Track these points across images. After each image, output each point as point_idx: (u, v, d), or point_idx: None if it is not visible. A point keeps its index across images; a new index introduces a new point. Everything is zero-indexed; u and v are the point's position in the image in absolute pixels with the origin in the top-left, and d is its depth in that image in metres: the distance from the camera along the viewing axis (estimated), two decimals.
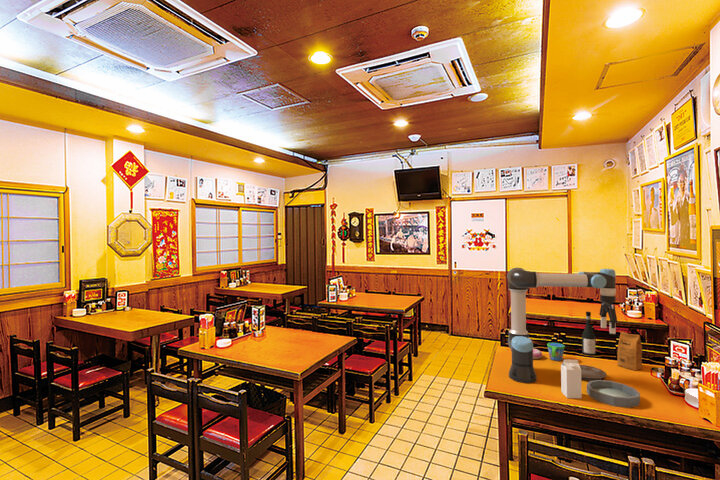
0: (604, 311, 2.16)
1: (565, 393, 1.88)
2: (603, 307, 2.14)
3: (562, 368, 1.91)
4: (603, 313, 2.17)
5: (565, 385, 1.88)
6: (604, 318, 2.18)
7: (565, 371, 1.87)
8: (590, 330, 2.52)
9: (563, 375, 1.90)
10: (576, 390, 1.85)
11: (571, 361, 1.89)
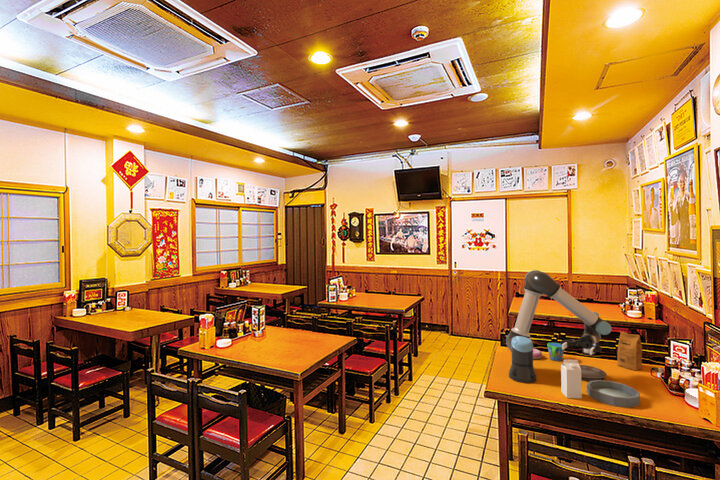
0: (573, 343, 2.06)
1: (565, 393, 1.88)
2: (579, 340, 2.06)
3: (562, 368, 1.91)
4: (570, 343, 2.06)
5: (565, 385, 1.88)
6: (566, 345, 2.05)
7: (565, 371, 1.87)
8: None
9: (563, 375, 1.90)
10: (576, 390, 1.85)
11: (571, 361, 1.89)
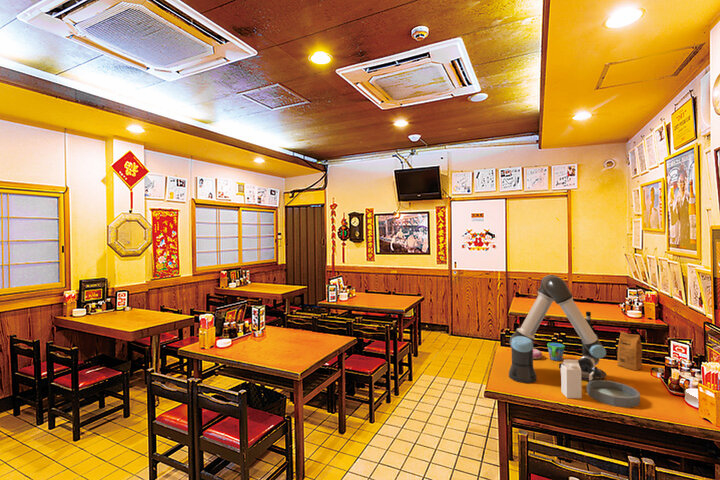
0: None
1: (565, 393, 1.88)
2: None
3: (562, 368, 1.91)
4: None
5: (565, 385, 1.88)
6: None
7: (565, 371, 1.87)
8: None
9: (563, 375, 1.90)
10: (576, 390, 1.85)
11: (571, 361, 1.89)
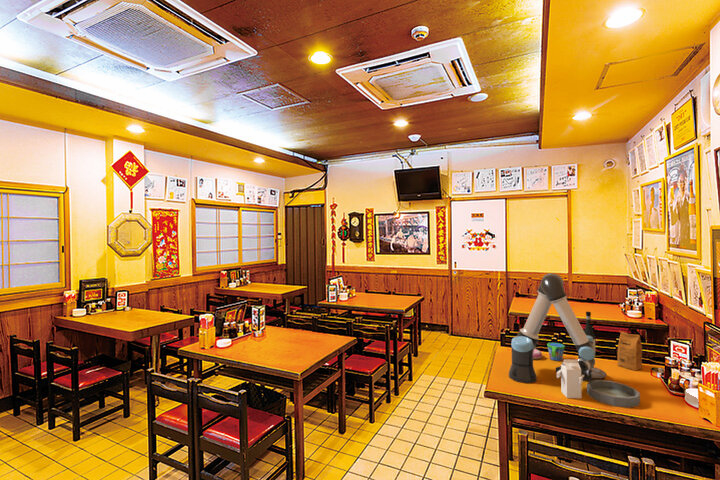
0: None
1: (565, 393, 1.88)
2: None
3: (562, 368, 1.91)
4: None
5: (565, 385, 1.88)
6: None
7: (565, 371, 1.88)
8: (590, 330, 2.52)
9: (563, 375, 1.90)
10: (576, 390, 1.86)
11: (571, 361, 1.89)
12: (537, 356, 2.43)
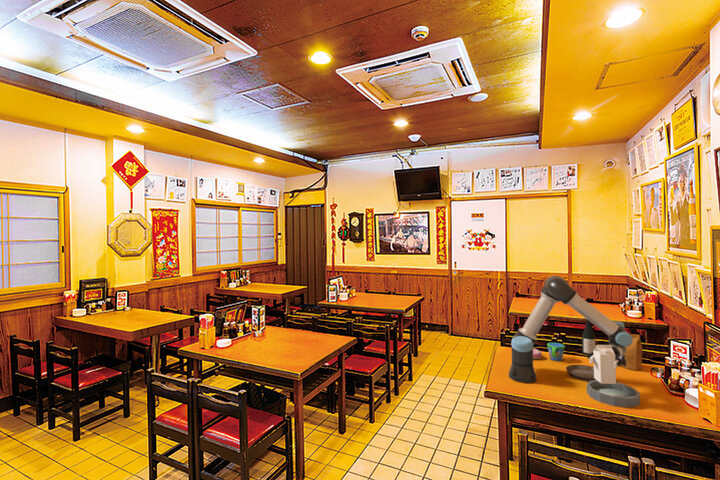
0: None
1: (599, 379, 1.85)
2: None
3: (595, 354, 1.88)
4: None
5: (598, 371, 1.85)
6: None
7: (598, 356, 1.85)
8: (590, 330, 2.52)
9: (596, 360, 1.87)
10: (610, 375, 1.83)
11: (604, 346, 1.86)
12: (537, 356, 2.43)
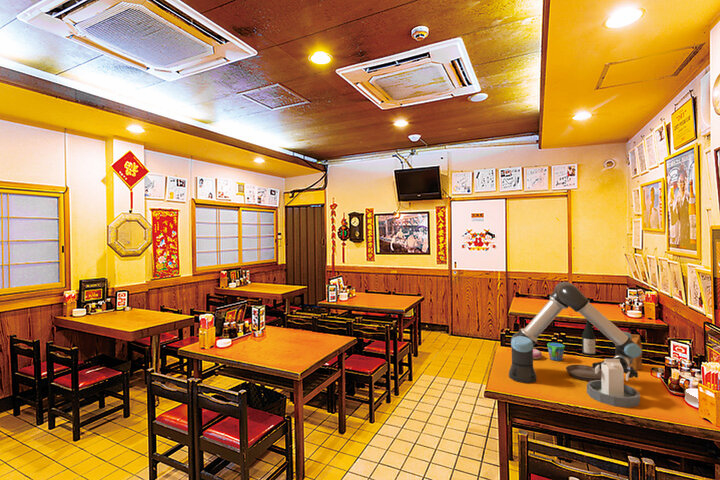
0: None
1: (606, 393, 1.85)
2: None
3: (603, 367, 1.88)
4: None
5: (606, 385, 1.85)
6: (599, 368, 1.93)
7: (607, 370, 1.85)
8: (590, 330, 2.52)
9: (604, 374, 1.87)
10: (618, 389, 1.83)
11: (612, 360, 1.86)
12: (537, 356, 2.43)
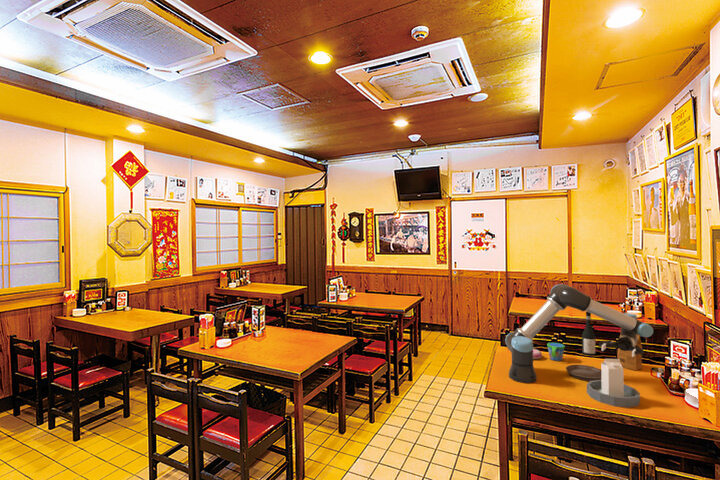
0: (612, 344, 2.03)
1: (606, 393, 1.85)
2: (618, 342, 2.04)
3: (603, 367, 1.89)
4: (609, 344, 2.03)
5: (606, 385, 1.85)
6: (605, 346, 2.02)
7: (606, 370, 1.85)
8: (590, 330, 2.52)
9: (604, 374, 1.87)
10: (618, 389, 1.83)
11: (612, 360, 1.86)
12: (537, 356, 2.43)
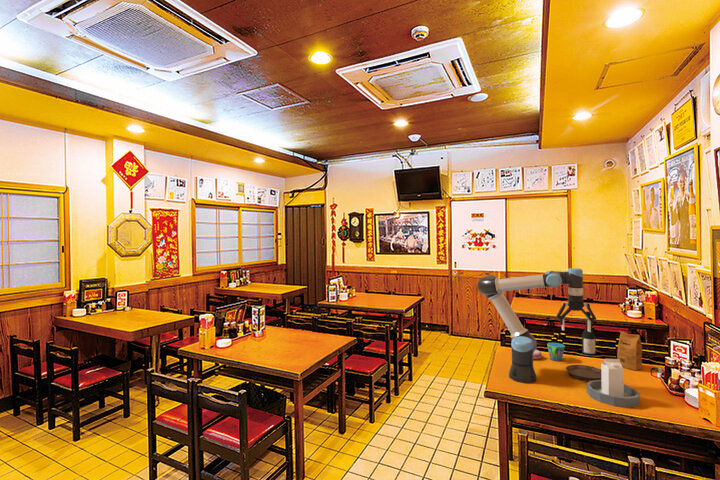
0: None
1: (606, 393, 1.85)
2: None
3: (603, 367, 1.89)
4: None
5: (606, 385, 1.85)
6: (588, 321, 2.07)
7: (607, 370, 1.85)
8: None
9: (604, 374, 1.87)
10: (618, 389, 1.83)
11: (612, 360, 1.86)
12: (537, 356, 2.43)
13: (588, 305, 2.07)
